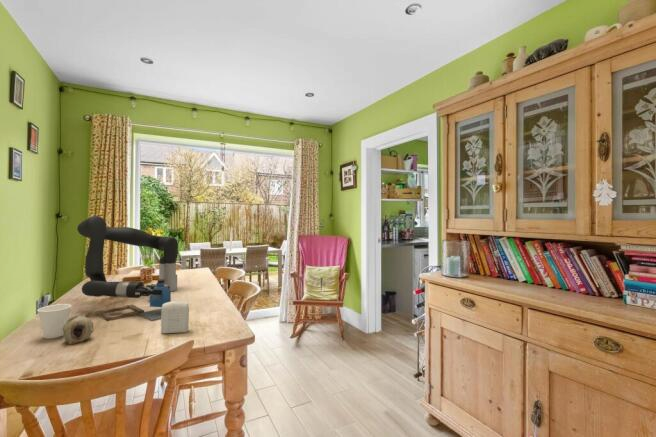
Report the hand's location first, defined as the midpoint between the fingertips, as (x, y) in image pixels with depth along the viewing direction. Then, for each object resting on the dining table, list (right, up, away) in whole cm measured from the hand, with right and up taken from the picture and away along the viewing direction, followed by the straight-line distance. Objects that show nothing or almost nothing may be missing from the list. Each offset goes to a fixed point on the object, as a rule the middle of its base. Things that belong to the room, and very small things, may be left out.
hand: (165, 290), depth 147 cm
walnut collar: (-21, -11, 0) cm, 24 cm away
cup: (-28, -11, -27) cm, 41 cm away
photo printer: (+15, -12, -21) cm, 29 cm away
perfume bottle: (-2, -7, 0) cm, 8 cm away
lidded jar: (-17, -11, +24) cm, 31 cm away
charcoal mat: (-2, -11, 0) cm, 11 cm away
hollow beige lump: (-16, -12, -31) cm, 37 cm away
